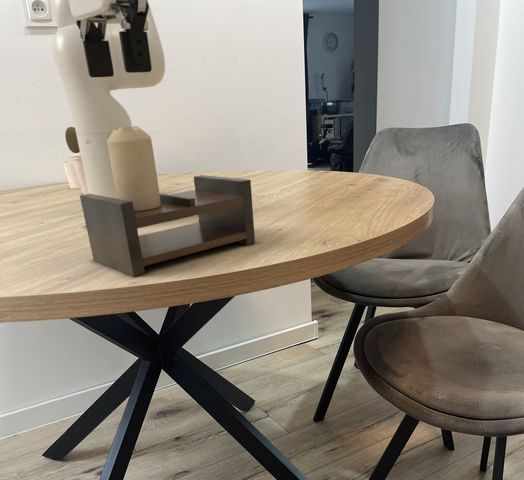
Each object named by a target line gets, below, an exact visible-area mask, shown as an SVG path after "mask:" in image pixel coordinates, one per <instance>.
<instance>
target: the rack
mask: <svg viewBox="0 0 524 480" xmlns="http://www.w3.org/2000/svg"><path fill="white" fill-rule="evenodd" d="M193 183H194V189H192V190H186V191H181V192H176V193H171V194H169V193H162V192H159V193H160V201H161V206H160V207H157V208H154V209H150V210H144V211H134V207H133V202H131V201H126V200H121V199H115V198H110V197H105V196H100V195H94V194H86V195H84V194H81V195H79V199H80V204H81V208H82V213H83V218H84V221H85V226H86V232H87V236H88V241H89V245H90V250H91V255H92V259H93V262H96V263H98V264H101V265H103V266H105V267H109V268H111V269H113V270H116V271H118V272H121V273H124V274H126V275H128V276H130V277H133V278H135V277H139V276H143V275H146V272H145V267H146V266H150V265H153V264H158V263H161V262H164V261H168V260H169V261H170V260H173V259H176V258H179V257H183V256H187V255H192V254H196V253H199V252H203V251H206V250H210V249H213V248H217V247H220V246H223V245H224V246H225V245H228V244H231V243H235V244H240V245H244V246H250V245H253V244H256V237H255V235H256V234H255V223H254V221H255V220H254V210H253V209H254V208H253V195H252V194H253V193H252V183H251V179H249V178H248V179H247V178H236V177H228V176H227V177H225V176H215V175H206V174H200V175H199V174H198V175H194V176H193ZM195 216H198V221H197V222H193V223H188V224H184V225H180V226H175V227H172V228H171V227H170V228H167V229H162V230H158V231H154V232H153V231H152V232H150V233H144V234H141V235H139V232H138V229H141V228H145V227H150V226H154V225H158V224H159V225H160V224H163V223H167V222H173V221H177V220H181V219H186V218H191V217H195Z"/></svg>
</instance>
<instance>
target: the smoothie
mask: <svg viewBox="0 0 524 480" xmlns="http://www.w3.org/2000/svg"><path fill="white" fill-rule="evenodd" d="M69 159H70V161H72V162H73V165H74V168H75V171H76V174H77V177H78V180H79V183H80V186H81V188H80V189H81V190H82V191H81V192H82V195H86V194H89V193H88V188H87V183H86V178H85V174H84V169H83V164H82V159H81V154H80V152H79V153H73V154H70V155H69Z"/></svg>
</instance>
